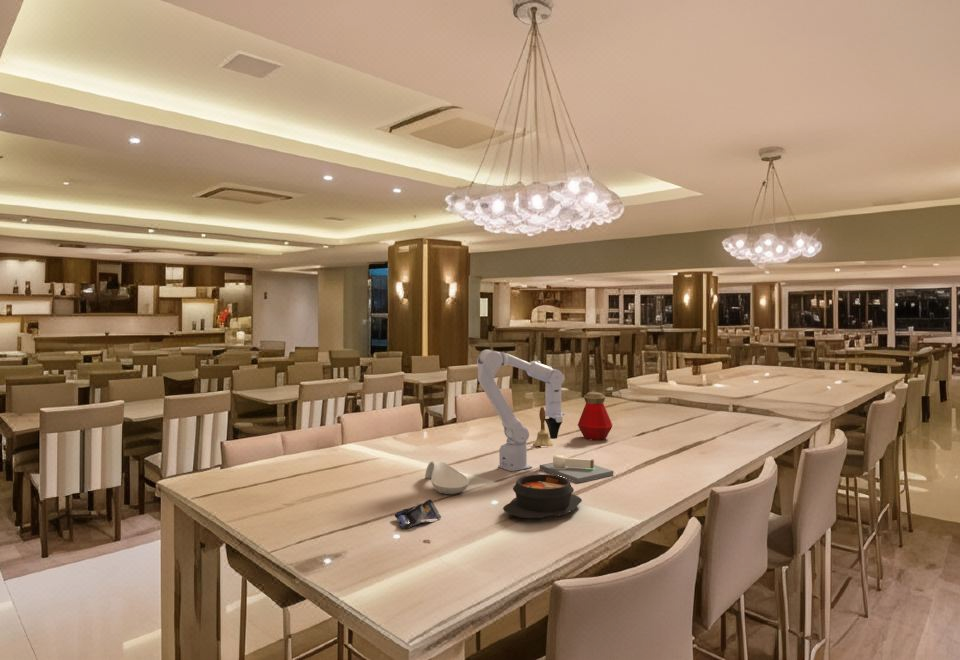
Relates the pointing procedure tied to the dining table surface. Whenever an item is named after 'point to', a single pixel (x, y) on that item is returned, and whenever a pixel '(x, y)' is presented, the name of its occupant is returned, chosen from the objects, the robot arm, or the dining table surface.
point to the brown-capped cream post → (572, 462)
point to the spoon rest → (446, 478)
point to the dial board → (578, 472)
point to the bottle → (595, 417)
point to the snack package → (417, 514)
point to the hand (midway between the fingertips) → (553, 438)
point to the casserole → (542, 497)
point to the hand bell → (542, 432)
